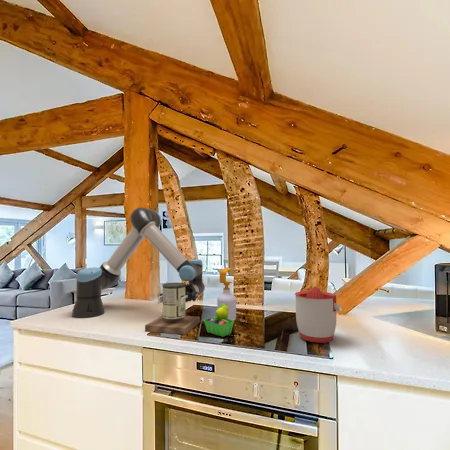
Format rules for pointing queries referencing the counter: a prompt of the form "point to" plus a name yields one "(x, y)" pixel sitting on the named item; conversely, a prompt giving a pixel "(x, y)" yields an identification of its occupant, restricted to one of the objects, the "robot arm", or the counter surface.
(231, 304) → the soap bottle
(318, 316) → the citrus juicer
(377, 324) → the counter surface
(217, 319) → the fruit basket
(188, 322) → the walnut trivet board
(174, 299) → the coffee can
